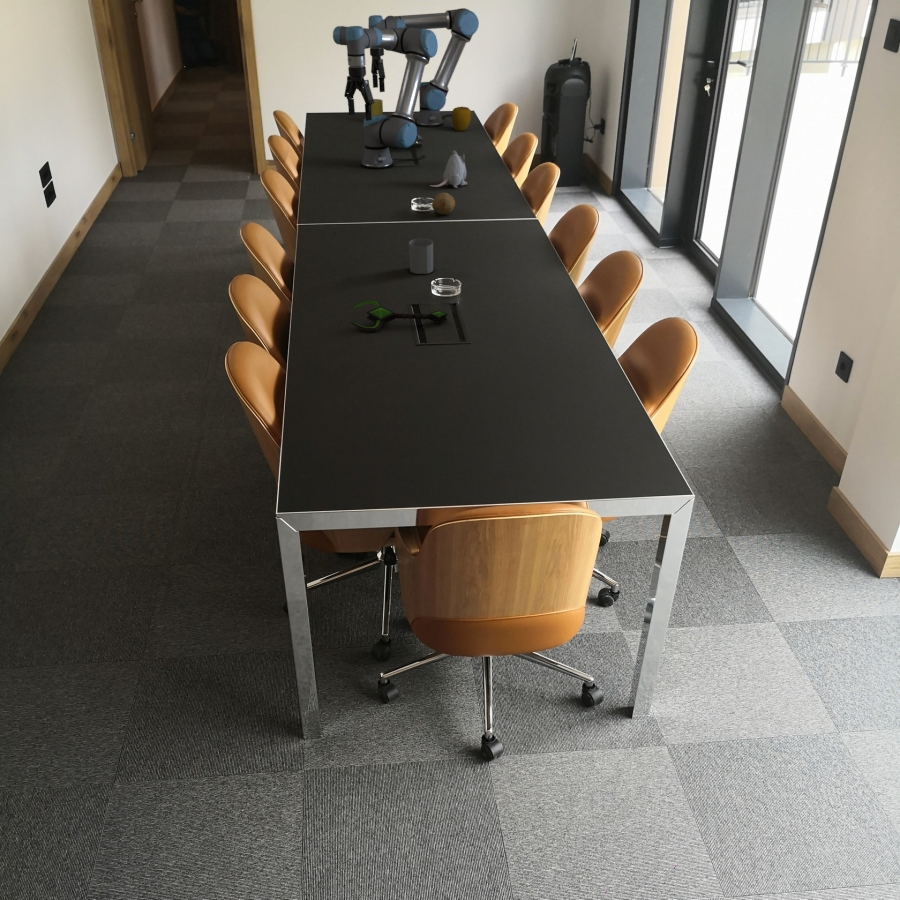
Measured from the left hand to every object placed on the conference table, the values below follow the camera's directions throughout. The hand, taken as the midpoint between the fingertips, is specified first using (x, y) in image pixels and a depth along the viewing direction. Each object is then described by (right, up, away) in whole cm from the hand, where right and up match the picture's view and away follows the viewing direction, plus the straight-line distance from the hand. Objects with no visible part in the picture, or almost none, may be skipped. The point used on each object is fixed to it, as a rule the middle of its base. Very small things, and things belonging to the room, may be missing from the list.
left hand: (360, 117), depth 386 cm
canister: (-4, +44, +122) cm, 130 cm away
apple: (+47, +33, +104) cm, 119 cm away
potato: (+37, -49, -24) cm, 66 cm away
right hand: (+1, +50, +91) cm, 103 cm away
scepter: (+24, -109, -117) cm, 162 cm away
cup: (+30, -84, -78) cm, 119 cm away
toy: (+39, -29, +8) cm, 49 cm away
